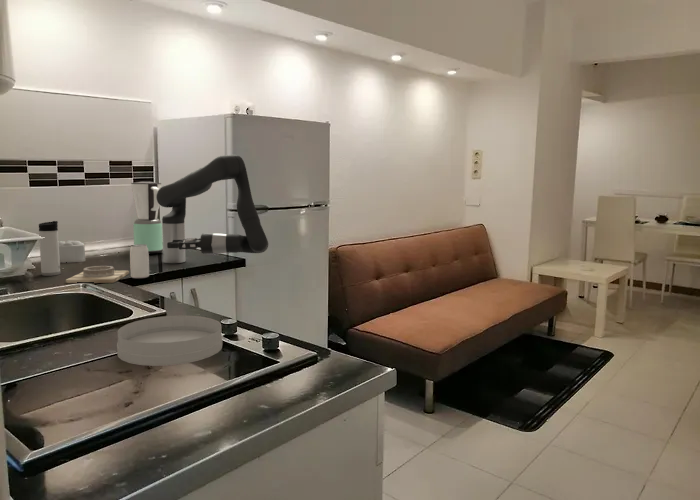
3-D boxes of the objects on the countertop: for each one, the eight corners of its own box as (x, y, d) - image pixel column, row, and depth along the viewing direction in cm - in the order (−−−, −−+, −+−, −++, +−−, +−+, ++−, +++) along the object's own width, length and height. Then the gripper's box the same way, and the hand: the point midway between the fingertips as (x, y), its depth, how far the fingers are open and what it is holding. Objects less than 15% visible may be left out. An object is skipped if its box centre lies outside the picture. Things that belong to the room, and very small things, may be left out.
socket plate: (85, 273, 206) (85, 264, 206) (129, 273, 208) (128, 264, 207) (66, 282, 188) (65, 272, 188) (113, 282, 190) (113, 272, 190)
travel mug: (64, 273, 206) (62, 221, 203) (49, 276, 200) (45, 222, 197) (53, 272, 208) (50, 220, 206) (37, 274, 202) (34, 221, 200)
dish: (239, 339, 127) (238, 319, 127) (191, 371, 106) (191, 347, 105) (155, 332, 132) (154, 312, 132) (93, 361, 111) (92, 337, 110)
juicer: (127, 253, 262) (124, 180, 257) (152, 250, 271) (150, 180, 267) (146, 257, 249) (143, 181, 244) (172, 254, 259) (170, 181, 254)
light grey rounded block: (85, 261, 235) (84, 241, 234) (51, 263, 229) (50, 243, 228) (85, 258, 244) (84, 239, 243) (52, 259, 238) (51, 240, 237)
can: (142, 279, 198) (141, 246, 196) (127, 278, 199) (125, 245, 198) (152, 275, 204) (151, 244, 203) (137, 275, 205) (136, 243, 204)
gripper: (216, 231, 209) (173, 232, 208) (211, 235, 195) (165, 235, 194) (217, 251, 210) (174, 251, 208) (211, 255, 196) (166, 256, 194)
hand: (170, 243), depth 201 cm, fingers open, 8 cm apart
